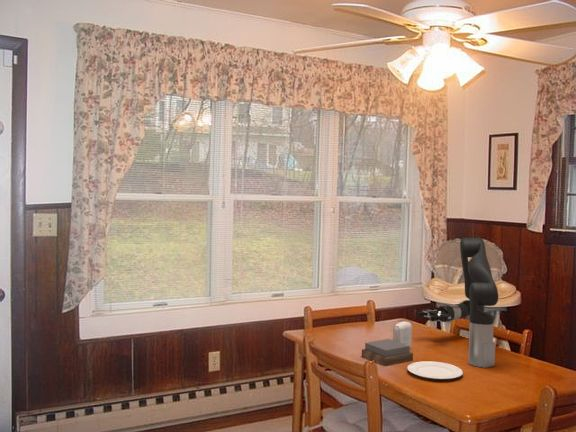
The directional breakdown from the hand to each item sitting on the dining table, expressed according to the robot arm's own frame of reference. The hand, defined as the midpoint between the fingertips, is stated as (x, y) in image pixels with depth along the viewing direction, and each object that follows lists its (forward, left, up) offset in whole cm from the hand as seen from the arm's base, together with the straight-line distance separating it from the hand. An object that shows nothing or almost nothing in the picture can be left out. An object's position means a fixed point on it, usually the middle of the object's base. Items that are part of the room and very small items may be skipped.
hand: (424, 317), depth 254 cm
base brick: (-7, +28, -13) cm, 32 cm away
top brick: (-7, +28, -10) cm, 31 cm away
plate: (-31, +25, -13) cm, 42 cm away
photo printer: (0, +13, -13) cm, 19 cm away
